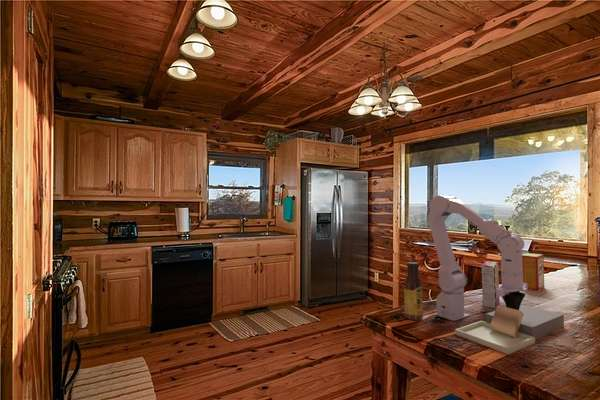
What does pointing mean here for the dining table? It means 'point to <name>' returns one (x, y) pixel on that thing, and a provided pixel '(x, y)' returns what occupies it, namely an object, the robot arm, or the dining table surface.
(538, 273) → the baking soda box
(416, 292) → the sauce bottle
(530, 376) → the dining table surface
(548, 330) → the grey flat block
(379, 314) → the dining table surface
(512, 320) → the tile
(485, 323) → the tray
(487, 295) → the candy bar box
